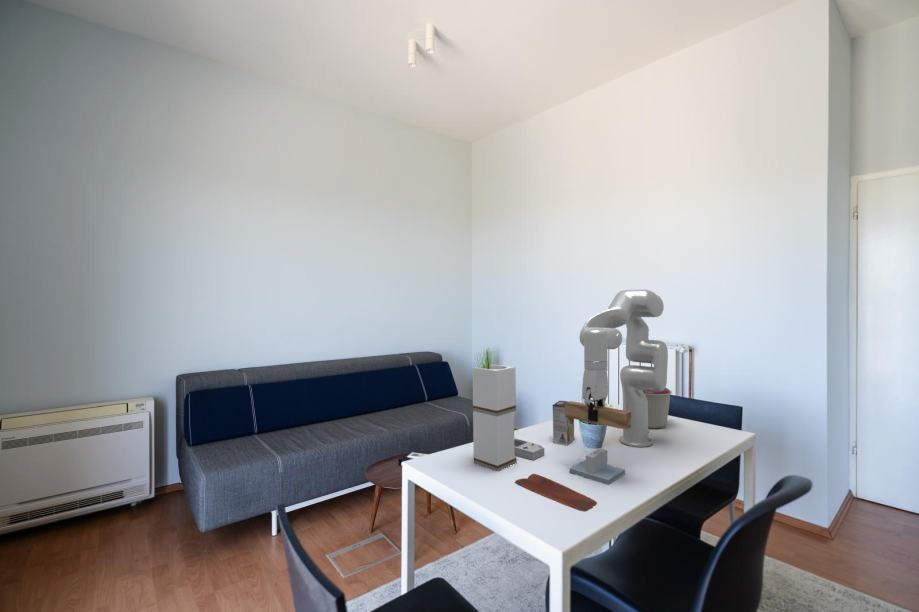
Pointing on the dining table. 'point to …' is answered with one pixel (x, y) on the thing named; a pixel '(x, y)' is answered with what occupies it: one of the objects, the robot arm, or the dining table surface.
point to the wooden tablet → (557, 492)
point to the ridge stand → (597, 468)
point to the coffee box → (562, 425)
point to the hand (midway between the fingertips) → (596, 418)
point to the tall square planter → (494, 416)
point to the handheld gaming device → (527, 449)
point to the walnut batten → (599, 415)
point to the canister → (657, 407)
